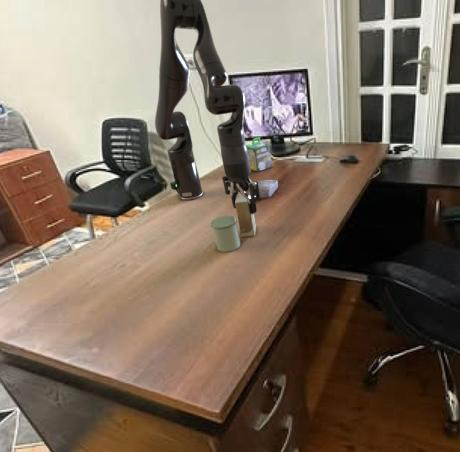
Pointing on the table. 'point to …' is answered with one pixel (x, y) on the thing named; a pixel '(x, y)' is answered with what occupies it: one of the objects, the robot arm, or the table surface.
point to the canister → (226, 233)
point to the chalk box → (259, 155)
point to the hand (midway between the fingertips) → (245, 210)
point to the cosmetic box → (245, 217)
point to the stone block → (267, 188)
